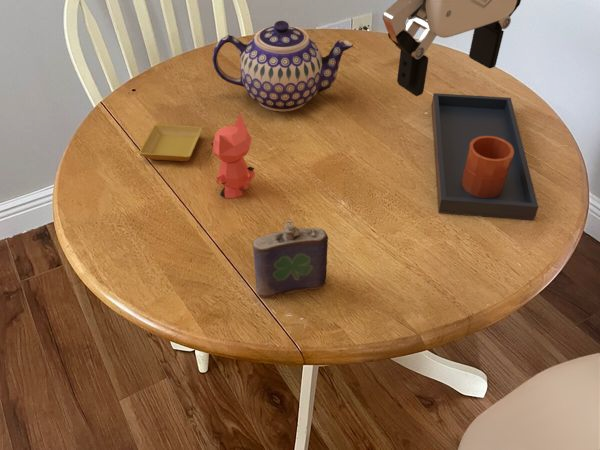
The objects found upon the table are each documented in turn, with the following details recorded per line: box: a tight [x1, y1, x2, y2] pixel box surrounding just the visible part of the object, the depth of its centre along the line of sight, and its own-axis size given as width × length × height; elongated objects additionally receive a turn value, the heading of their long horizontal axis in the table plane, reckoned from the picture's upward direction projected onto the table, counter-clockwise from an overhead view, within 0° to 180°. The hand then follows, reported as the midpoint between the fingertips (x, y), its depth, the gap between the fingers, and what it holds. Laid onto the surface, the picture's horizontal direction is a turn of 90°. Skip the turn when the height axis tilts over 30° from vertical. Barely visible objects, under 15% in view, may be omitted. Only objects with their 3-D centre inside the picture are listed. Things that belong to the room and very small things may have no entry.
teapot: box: [211, 20, 354, 112], centre depth 105 cm, size 25×15×15 cm, turn 85°
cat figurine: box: [206, 113, 256, 199], centre depth 86 cm, size 7×7×12 cm
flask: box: [252, 219, 329, 298], centre depth 72 cm, size 9×3×11 cm, turn 103°
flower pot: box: [461, 136, 514, 198], centre depth 87 cm, size 6×6×7 cm
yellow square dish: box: [138, 123, 204, 162], centre depth 97 cm, size 9×9×2 cm
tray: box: [431, 92, 539, 221], centre depth 95 cm, size 30×14×3 cm, turn 173°
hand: (446, 75), depth 59 cm, fingers open, 9 cm apart
